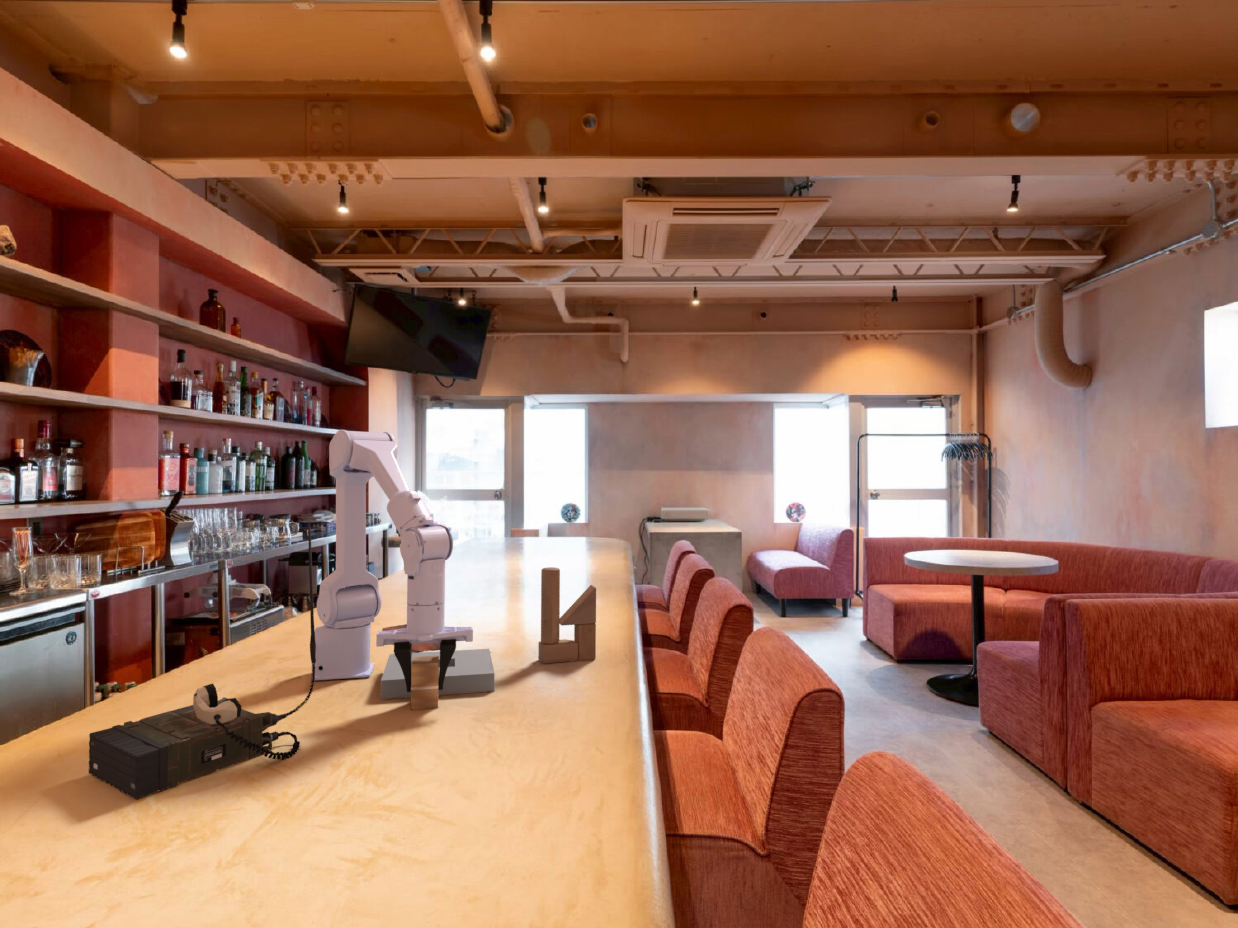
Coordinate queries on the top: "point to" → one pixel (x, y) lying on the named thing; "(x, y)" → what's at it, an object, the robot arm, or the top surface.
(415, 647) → the wooden tablet
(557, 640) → the wooden block
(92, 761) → the radio
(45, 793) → the top surface
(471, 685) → the slate board
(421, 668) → the oak peg
